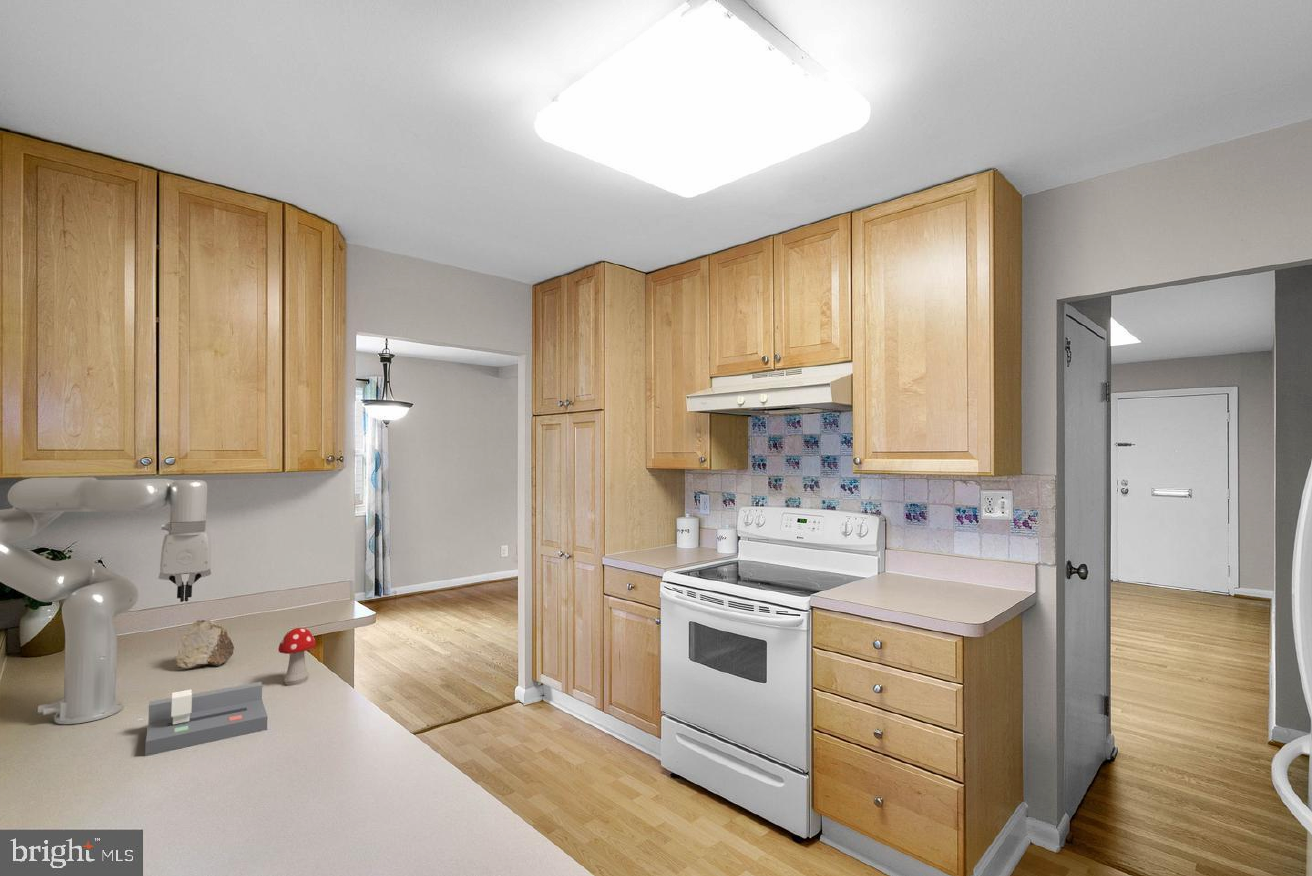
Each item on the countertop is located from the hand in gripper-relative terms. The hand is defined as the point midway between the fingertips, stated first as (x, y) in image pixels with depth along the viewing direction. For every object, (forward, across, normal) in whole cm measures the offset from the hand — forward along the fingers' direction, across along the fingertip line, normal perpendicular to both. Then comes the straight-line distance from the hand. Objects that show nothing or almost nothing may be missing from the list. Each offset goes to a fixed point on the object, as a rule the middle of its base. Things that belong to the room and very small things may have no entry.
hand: (184, 600), depth 159 cm
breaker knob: (+23, +1, -20) cm, 31 cm away
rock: (+27, +6, +36) cm, 46 cm away
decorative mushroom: (+27, +26, +4) cm, 38 cm away
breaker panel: (+27, +6, -20) cm, 34 cm away
